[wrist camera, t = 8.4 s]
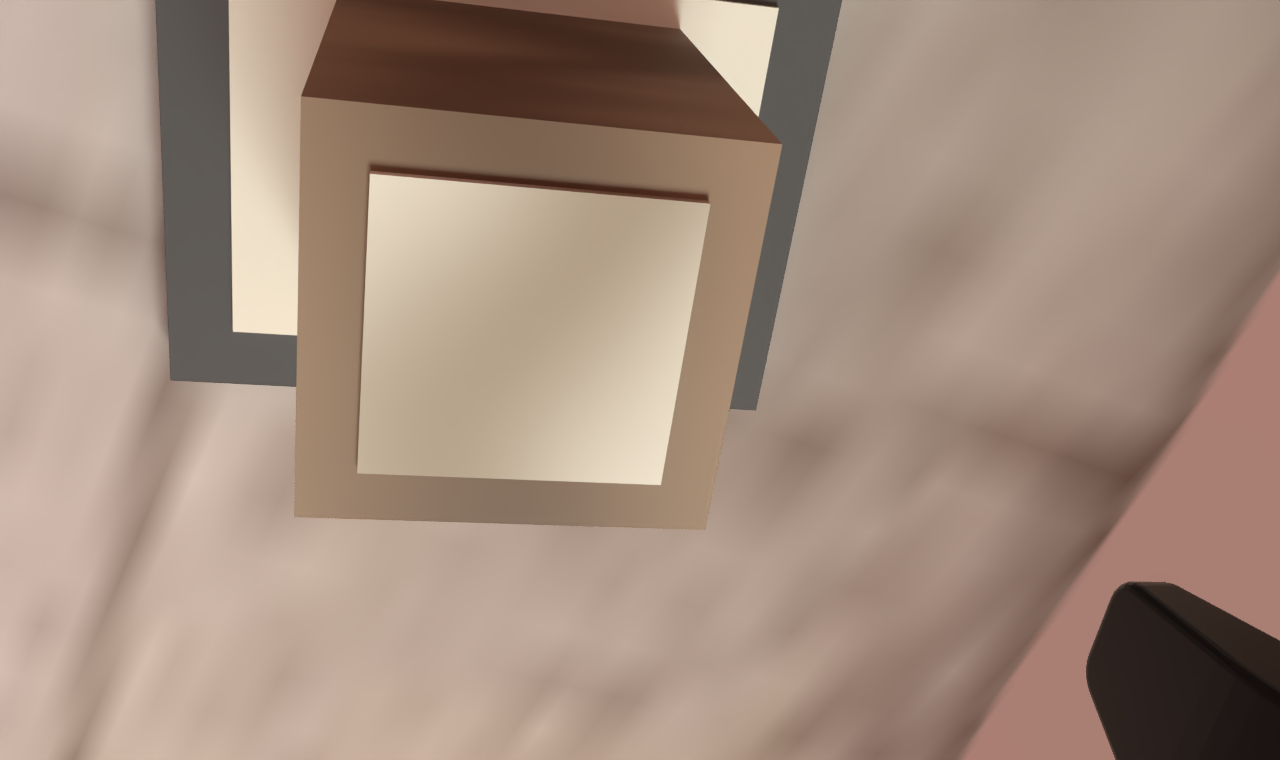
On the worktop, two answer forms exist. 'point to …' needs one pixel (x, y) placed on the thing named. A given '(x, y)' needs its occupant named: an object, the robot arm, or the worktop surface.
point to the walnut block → (520, 267)
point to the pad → (270, 158)
